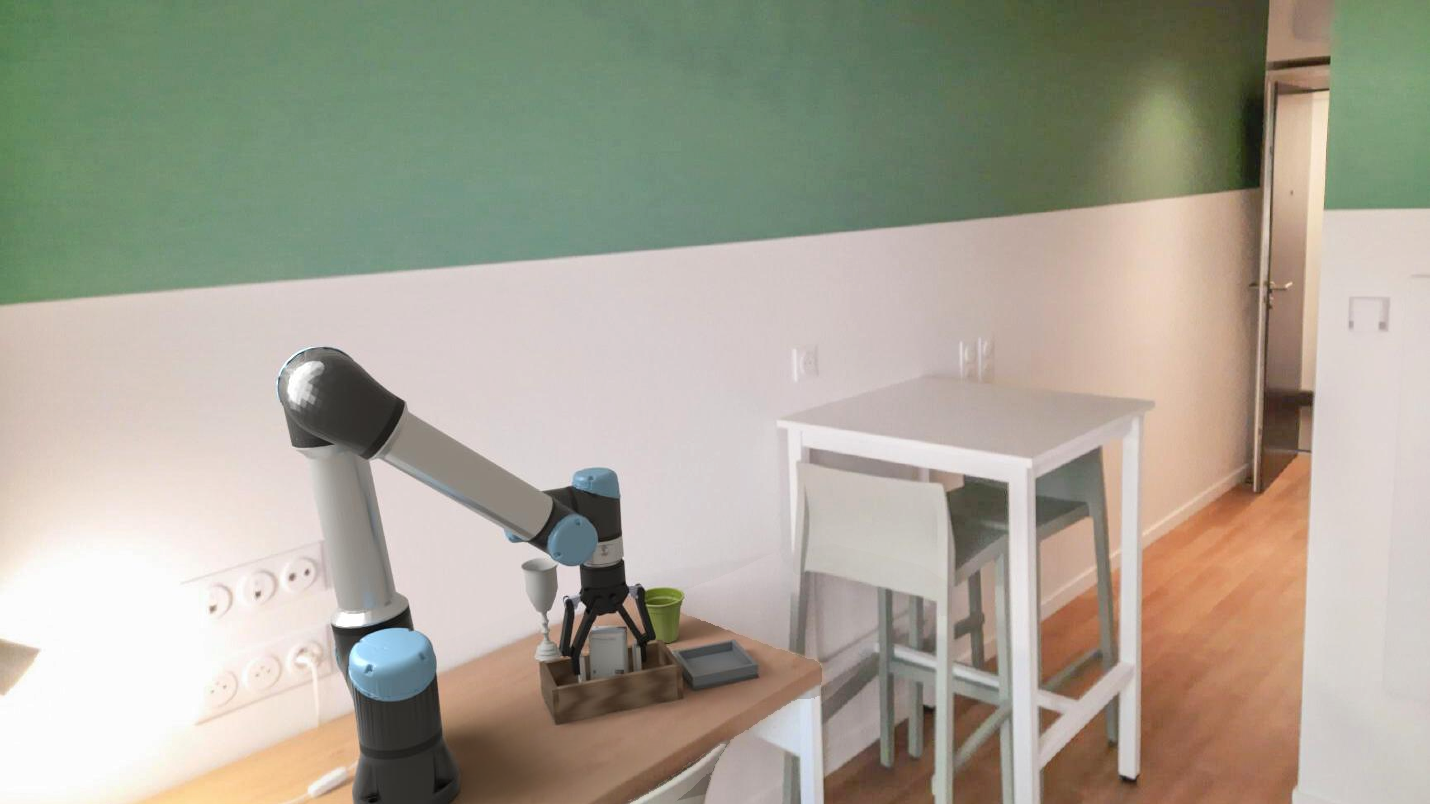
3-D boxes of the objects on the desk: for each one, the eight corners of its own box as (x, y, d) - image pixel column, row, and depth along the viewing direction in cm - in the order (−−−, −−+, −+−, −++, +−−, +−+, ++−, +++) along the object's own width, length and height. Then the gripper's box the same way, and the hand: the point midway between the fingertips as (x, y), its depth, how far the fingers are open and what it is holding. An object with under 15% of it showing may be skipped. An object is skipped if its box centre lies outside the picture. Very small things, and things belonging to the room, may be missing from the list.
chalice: (558, 664, 200) (550, 571, 196) (523, 662, 201) (515, 570, 198) (571, 647, 207) (564, 557, 203) (537, 646, 208) (529, 557, 205)
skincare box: (591, 702, 184) (586, 635, 182) (596, 690, 188) (591, 625, 186) (627, 702, 183) (622, 635, 181) (631, 690, 188) (627, 624, 185)
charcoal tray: (693, 690, 186) (693, 677, 186) (673, 663, 197) (672, 650, 197) (758, 677, 190) (758, 664, 190) (735, 651, 201) (734, 639, 201)
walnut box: (554, 724, 177) (552, 690, 176) (541, 694, 188) (539, 661, 187) (683, 698, 184) (681, 665, 182) (663, 670, 195) (661, 639, 194)
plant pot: (696, 633, 210) (693, 591, 209) (668, 652, 203) (666, 608, 201) (656, 625, 215) (654, 584, 214) (628, 643, 208) (625, 600, 206)
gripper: (541, 577, 174) (552, 707, 178) (670, 556, 181) (678, 682, 185) (533, 563, 181) (543, 688, 185) (657, 544, 188) (665, 665, 192)
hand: (611, 685), depth 185 cm, fingers open, 9 cm apart
